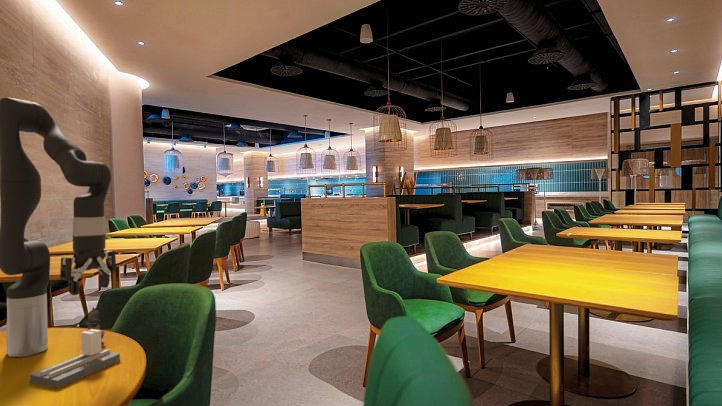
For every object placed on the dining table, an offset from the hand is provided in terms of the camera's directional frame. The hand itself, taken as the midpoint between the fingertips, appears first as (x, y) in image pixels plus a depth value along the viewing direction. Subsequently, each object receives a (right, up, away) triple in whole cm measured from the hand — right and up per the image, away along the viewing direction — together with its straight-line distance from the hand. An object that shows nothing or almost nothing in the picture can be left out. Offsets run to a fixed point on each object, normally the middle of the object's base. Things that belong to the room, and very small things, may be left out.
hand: (89, 290), depth 111 cm
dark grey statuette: (-8, -20, +14) cm, 26 cm away
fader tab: (+1, -18, 0) cm, 18 cm away
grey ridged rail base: (-1, -21, -4) cm, 21 cm away
